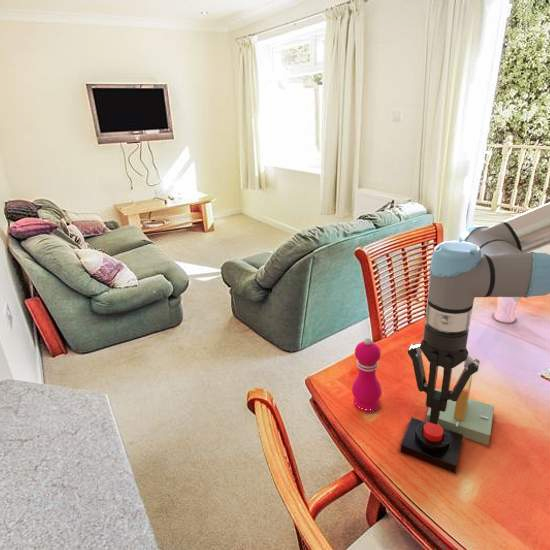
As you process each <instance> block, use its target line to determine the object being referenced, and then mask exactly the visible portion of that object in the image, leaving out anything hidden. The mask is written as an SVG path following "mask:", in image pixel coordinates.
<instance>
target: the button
mask: <svg viewBox="0 0 550 550" xmlns="http://www.w3.org/2000/svg"><path fill="white" fill-rule="evenodd" d="M443 433H444V430H443V428H442V427H441V426H440V425H439V424H437V425H436V424H433V423H430V422H427V423H426V424H425V425H424V428H423V435H424V437H425V438H426V439H427V440H429V441H431V442H440V441H441V440H442V439H443Z"/></svg>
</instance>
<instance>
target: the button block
mask: <svg viewBox="0 0 550 550" xmlns="http://www.w3.org/2000/svg"><path fill="white" fill-rule="evenodd" d="M426 423H427V422H426V421H424V420H421V419H418V418H415V417H411V418H410V421H409V423H408V426H407V429H406V431H405V434H404V436H403V438H402V441H401V444H400V453H401V454H405V455H407V456H410V457H412V458H415V459H417V460H420V461H422V462H425V463H427V464H430V465H432V466H435V467H438V468H440V469H442V470H445V471H447V472H450V473H452V474H456V471H457V467H458V461H459V457H460V453H461V449H462V448H461V447H462V443H463V438H464V437H463V435H462V434H459V433H456V432H453V431H450V430H448V429H446V428H445V427H443V426H442V425H441V424H439V425H440V426H441V427H442V428H443V430H444V433H443V439H442V440H441V441H440V442H431V441H429V440H427V439H426V438H425V437H424V435H423V428H424V425H425V424H426ZM437 424H438V423H437Z"/></svg>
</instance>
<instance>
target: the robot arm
mask: <svg viewBox="0 0 550 550" xmlns="http://www.w3.org/2000/svg"><path fill="white" fill-rule="evenodd" d="M549 245H550V202H548V203H545V204H542V205H540V206H538V207H536V208H533V209H530V210H528V211H526V212H522V213H520V214H519V215H517V216H514V217H511V218H509V219H506V220H504V221H503V222H499V223H496V224H494V225H491V226H487V225H483V224H476V225H471V226H469V227H467V228H465V230H463V232H462V233H461V234H460V236H459V237H458V240H447V241H443V242H441V243H438V244H437V245H436V246H434V248H433V251H432V256H431V260H430V266H429V281H428V291H427V292H428V293H427V301H426V310H425V323H424V329H423V339H422V340H421V342H420V343H418V344H415V343H411V344H410V346H409V348H408V349H407V354H408V356H409V358H410V359H411V361H412V367H413V371H414V377H415V383H416V386H417V390H418V391H419V392H424V393H425V394H426V399H425V406H426V407H427V408H429V407H430V408H431V413H430V421H429V422H430V423H433V424H436V425H437V423H438V419H439V416H440V411H443V412H445V410H446V407H447V401H448V400H452V401H457V399H458V398H459V396H460V394H461V392H462V390H463V389H464V387H465V385H466V383H467V381H468V380H469V378H470V376H471V375H472V376H473V375H474V374H476V373H477V372H478V371H479V367H480V363H481V362H480V360H479V359H477V358H472V357H471V356H470V355H469V351H468V348H467V344H468V338H469V331H470V329H469V327H470V326H471V319H472V313H473V308H474V301H475V298H497V297H521V298H525V299H527V298H530V297H544V296H548V295H550V254H549V253H547V252H535V251H536V250H539V249H541V248H544V247H546V246H549ZM422 354H423V355H424V356H425V358H426V359H427V361H428V362H429V367H428V370H429V371H428V378H427V377H426V372H425V366H424V361H423V357H422ZM462 363H464V364H463V370H462V372H461V374H460V375H459V377H458V379H457V381H456V383H455V385H454V387H453V388H452V389H451V381H452V373H453V369H455V368H456V367H457V366H459V365H460V364H462ZM439 367H441V368H443V370H442V371H443V372H442V373H443V374H442V381H441V388H440V390H441V392H440V391H436V390H435V389H437V381H438V372H439V371H438V370H439Z"/></svg>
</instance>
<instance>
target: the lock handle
mask: <svg viewBox="0 0 550 550" xmlns="http://www.w3.org/2000/svg"><path fill="white" fill-rule="evenodd" d="M472 379H473V374H472V375H471V376H470V378H469V380H468V381H467V383H466V385H465V387H464V389H463V390H462V392H461V394H460V396H459V398H458V399H457V401H456V405H455V411H454V419H457V420H460V421H463V420H464V415H465V411H466V407H467V403H468V398H469V397H470V391H471V385H472ZM469 399H470V398H469Z"/></svg>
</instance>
